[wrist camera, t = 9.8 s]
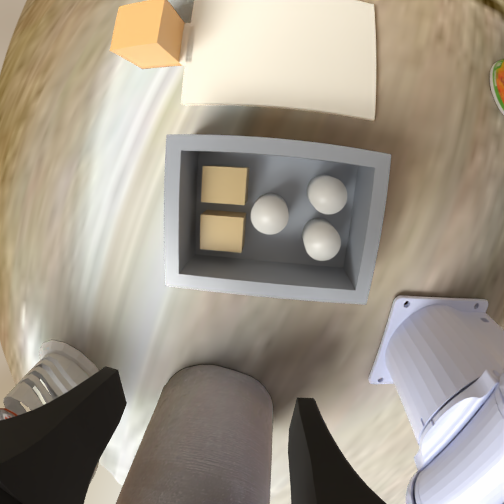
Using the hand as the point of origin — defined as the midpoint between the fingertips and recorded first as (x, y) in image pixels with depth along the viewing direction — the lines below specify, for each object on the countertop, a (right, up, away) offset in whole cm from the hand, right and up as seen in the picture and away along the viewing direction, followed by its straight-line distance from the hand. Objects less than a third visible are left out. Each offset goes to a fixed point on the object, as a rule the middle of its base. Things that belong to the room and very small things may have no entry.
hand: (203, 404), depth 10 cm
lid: (+2, +19, +5) cm, 19 cm away
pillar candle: (-1, -7, +13) cm, 15 cm away
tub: (+3, +9, +8) cm, 12 cm away
